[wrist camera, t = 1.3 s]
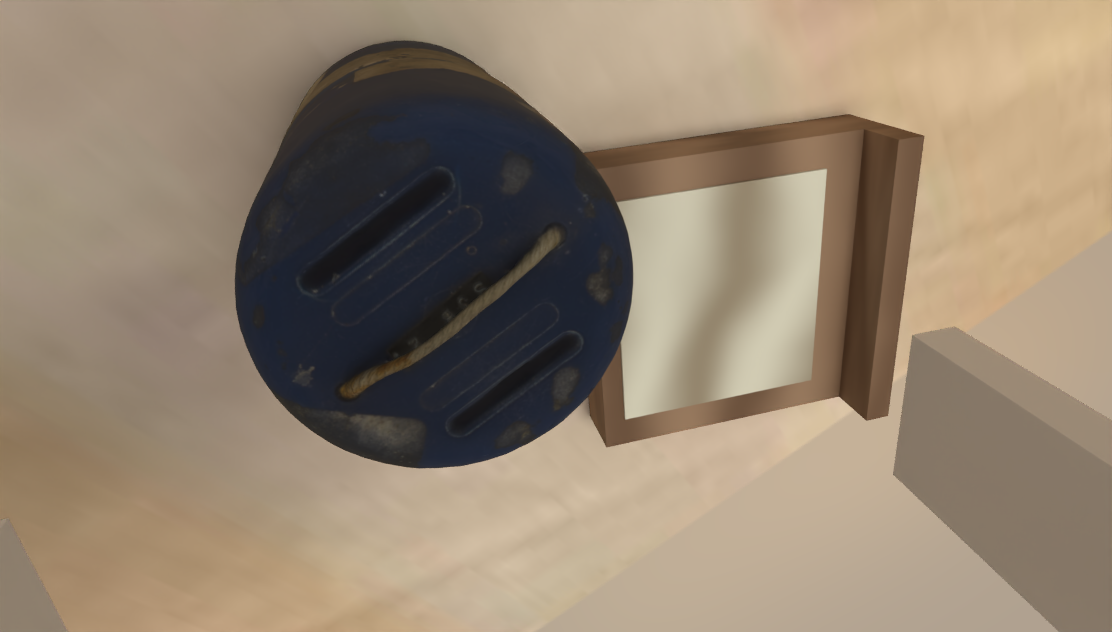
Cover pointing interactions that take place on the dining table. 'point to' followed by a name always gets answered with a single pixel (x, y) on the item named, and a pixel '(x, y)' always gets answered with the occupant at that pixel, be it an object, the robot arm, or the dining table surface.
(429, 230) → the canister
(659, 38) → the dining table surface
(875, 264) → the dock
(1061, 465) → the robot arm
